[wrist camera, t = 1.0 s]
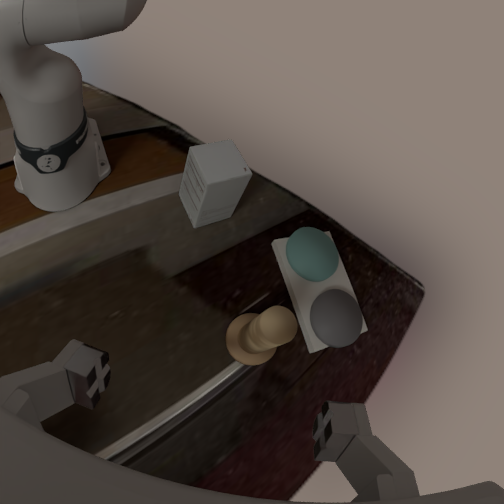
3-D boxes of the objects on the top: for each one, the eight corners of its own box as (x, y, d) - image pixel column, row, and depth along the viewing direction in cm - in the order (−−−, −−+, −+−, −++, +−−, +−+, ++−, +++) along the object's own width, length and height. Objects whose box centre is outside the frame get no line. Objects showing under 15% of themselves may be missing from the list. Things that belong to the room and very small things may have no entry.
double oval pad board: (269, 238, 56) (275, 231, 54) (323, 230, 61) (330, 223, 59) (311, 358, 49) (320, 356, 47) (364, 337, 54) (373, 333, 52)
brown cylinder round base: (218, 321, 47) (239, 301, 38) (265, 309, 50) (296, 287, 41) (234, 371, 45) (260, 365, 35) (281, 356, 48) (316, 345, 38)
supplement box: (214, 185, 58) (233, 137, 47) (231, 218, 56) (254, 174, 45) (177, 194, 54) (188, 145, 43) (192, 229, 52) (208, 184, 41)
